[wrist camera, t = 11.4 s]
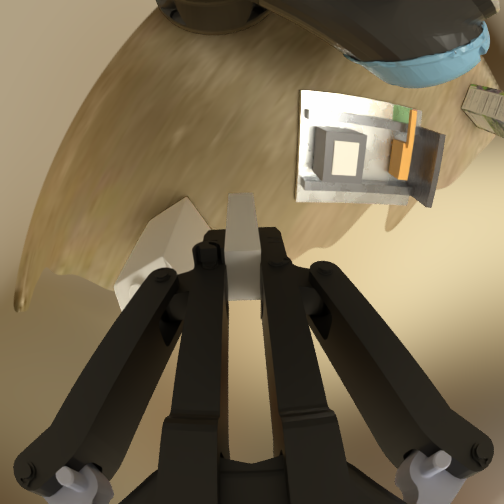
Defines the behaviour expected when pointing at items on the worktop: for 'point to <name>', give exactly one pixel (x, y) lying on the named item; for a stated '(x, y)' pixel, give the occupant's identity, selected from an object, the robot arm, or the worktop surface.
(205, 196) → the worktop surface
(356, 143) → the grey block
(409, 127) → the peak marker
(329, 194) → the gauge bed
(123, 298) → the milk carton
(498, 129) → the syrup box
